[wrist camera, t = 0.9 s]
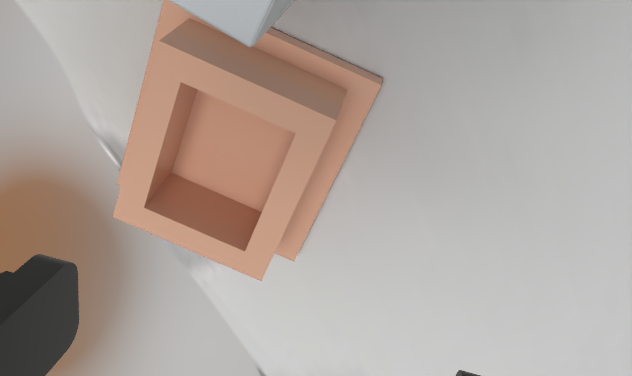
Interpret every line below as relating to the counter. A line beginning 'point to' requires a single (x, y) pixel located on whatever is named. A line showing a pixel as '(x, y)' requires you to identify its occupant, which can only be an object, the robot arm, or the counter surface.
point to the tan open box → (237, 140)
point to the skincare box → (237, 16)
